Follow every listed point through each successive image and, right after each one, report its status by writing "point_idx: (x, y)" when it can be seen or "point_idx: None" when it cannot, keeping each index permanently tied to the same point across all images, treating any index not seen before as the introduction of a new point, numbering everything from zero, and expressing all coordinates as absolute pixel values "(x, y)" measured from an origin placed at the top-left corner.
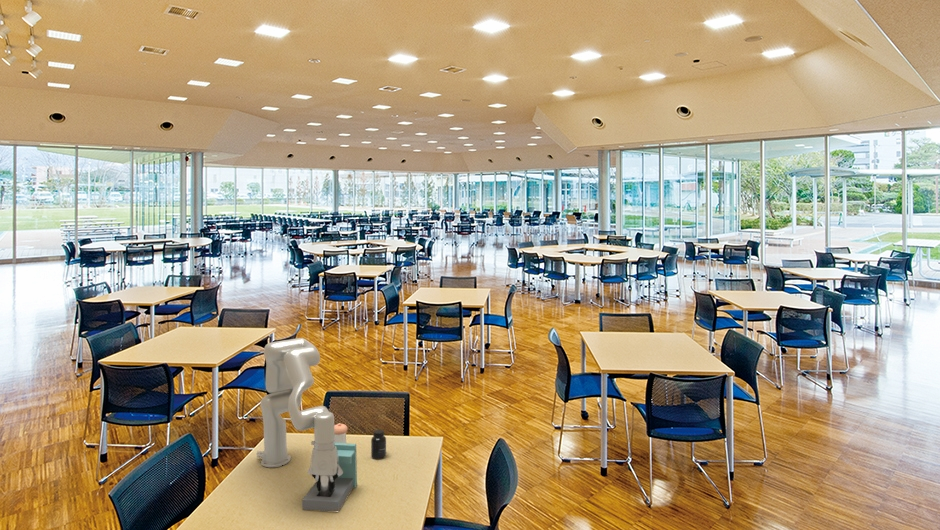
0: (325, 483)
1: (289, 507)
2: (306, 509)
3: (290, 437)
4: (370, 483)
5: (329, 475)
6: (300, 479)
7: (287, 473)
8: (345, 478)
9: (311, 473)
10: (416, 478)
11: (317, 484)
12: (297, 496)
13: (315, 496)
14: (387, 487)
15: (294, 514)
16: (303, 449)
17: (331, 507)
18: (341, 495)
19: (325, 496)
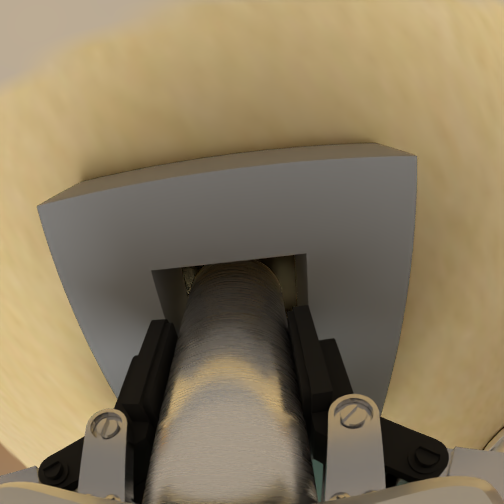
0: (192, 385)
1: (467, 166)
2: (345, 145)
3: None
4: None
5: (59, 494)
6: (453, 406)
7: (495, 409)
8: None
9: (480, 478)
10: (21, 448)
11: (333, 367)
12: (454, 294)
13: (310, 246)
14: (43, 420)
15: (403, 77)
16: None
17: (114, 178)
18: (77, 309)
19: (213, 278)
